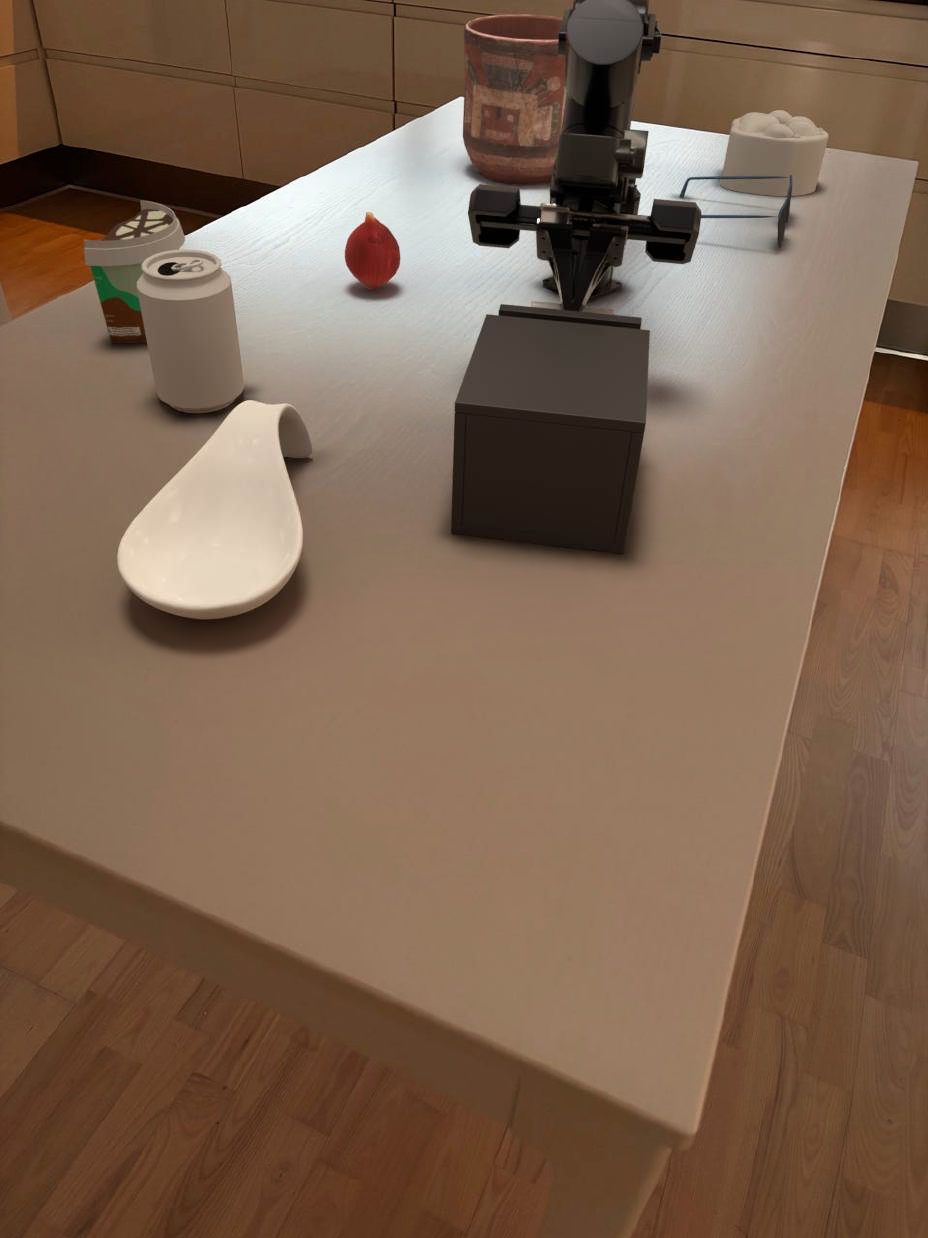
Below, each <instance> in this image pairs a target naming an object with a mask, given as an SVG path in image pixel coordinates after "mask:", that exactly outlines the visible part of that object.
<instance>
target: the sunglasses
mask: <svg viewBox="0 0 928 1238" xmlns="http://www.w3.org/2000/svg"><path fill="white" fill-rule="evenodd" d="M772 178H787V177H781V176H722V175H719V176H717V175H716V176H710V175H709V176H689V177H688V178H687V179H686V180H685V182H684V184H683V187H682V188H681V191H680V193H679V196H678V197H679V198H681V199H684V198H685V195H686V191H687V188H688V185H689V182H690V181H699V180H700V181H701V180H721V179H772ZM792 181H793V178H792V175H790V185H789V188H788V193H787V196H786V198H784V199H785V200H784V202H783V204H782V206H781V207H780V208H779V212H778V214H777V246H778V249H780V248H781V246H782V244H783V241H784V239H785V232H786V225H787V224H788V223H789V217H790V213H791V212H790V211H791V200H792V196H791V194H792ZM769 218H776V216H773V215H761V214H760V215H754V214H753V215H752V214H701V219H769Z"/></svg>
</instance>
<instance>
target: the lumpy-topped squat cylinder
mask: <svg viewBox="0 0 928 1238" xmlns="http://www.w3.org/2000/svg"><path fill="white" fill-rule="evenodd" d="M728 136H729V137H728V141H727V145H726V146H727V147H726V152H725V156H724V157H725V158H724V163H723V167H722V168H723V169H722V173H721V176H781V177H787V178H772V179H720V183H719V185H720V186H721V187H722V188H724V189H727V190H730V191H733V192H739V193H746V194H752V195H762V196H772V197H787V193H788V188H789V185H790V175H792V178H793V181H792V194H791V197H796V196H797V197H798V196H806V195H809V194H812V193H814V192H815V191H816V188H817V185H818V180H819V176H820V173H821V169H822V166H823V159H824V156H825V152H826V149H827V144H828V141H829V133H828V132H827V131H825V130H824V128H822V127H817V126H816V124H815V123H814V122H813V121H812V120H811V119H810V118H808V117H805V116H802V115H801V116H792V115H791V114H790V113H789V112H787V111H785V110H783V109H782V110H781V109H778V110H773V111H771V112H770V113H763V112H755V111H754V112H753V111H752V112H748V113H745V114H744V115H742V116H741V117H738V118H735V119H733V120H732V122H731V127H730V131H729V135H728Z"/></svg>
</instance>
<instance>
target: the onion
mask: <svg viewBox="0 0 928 1238" xmlns="http://www.w3.org/2000/svg"><path fill="white" fill-rule="evenodd" d="M344 261H345V265H346V267H347V269H348V270H349V272H350V273H351V274H352V276H353V277H354V278H355V279H356V280H358V281H359V282H360V283H361V284H362V285H364V286H365V287H366V288H367V289H368V290H370V291H375V290H378V289H379V288H380V287H382V286H383V285H386V284H387V283H388V282H389V281H390V280H391V279H392V278H393V277H394V276H395V275H396V274H397V272H398V270H399V268H400V265H401V249H400V246H399V243H398V240H397V238H396V237H395V236H394V234H393V233H392V231H391V230H390V229H389V227H388V226H386V224H384V223H382V222H381V221H380V220H378V218H376V217H375V215H374V213H372V211H366V213H365V217H364V221H363V222H362V223H360V224H359V225H358V226H356V227H355V229H353V231H352V232H351V233H350V234H349V236H348V238H347V241H346V244H345V248H344Z"/></svg>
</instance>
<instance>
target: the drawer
mask: <svg viewBox="0 0 928 1238" xmlns="http://www.w3.org/2000/svg"><path fill="white" fill-rule="evenodd" d="M615 311H616V310H615V308H610V307H600V306H591V305H590V306H589V305H585V306H584V308H583V310H582V312H579V311H568V310H562V306H561V303H558V302H549V301H548V302H547V301H538V300H535V301H534V300H532V301H531V302H530V306H528V305H527V306H526V305H517V304H516V305H515V304H505V303H501V304H500V305H499V308H498V315H500V316H510V317H520V318H530V319H540V320H551V321H561V322H571V323H581V324H591V325H602V326H612V327H622V328H632V329H642V320H643V318H642V317H640V316H631V315H619V314H615Z"/></svg>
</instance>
